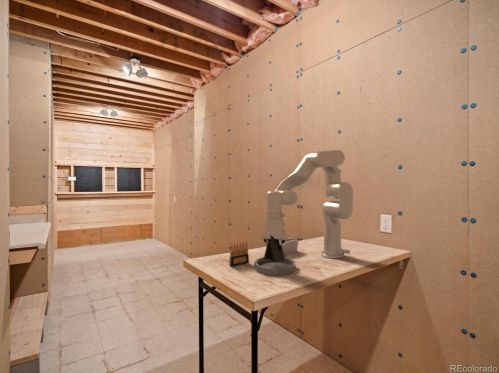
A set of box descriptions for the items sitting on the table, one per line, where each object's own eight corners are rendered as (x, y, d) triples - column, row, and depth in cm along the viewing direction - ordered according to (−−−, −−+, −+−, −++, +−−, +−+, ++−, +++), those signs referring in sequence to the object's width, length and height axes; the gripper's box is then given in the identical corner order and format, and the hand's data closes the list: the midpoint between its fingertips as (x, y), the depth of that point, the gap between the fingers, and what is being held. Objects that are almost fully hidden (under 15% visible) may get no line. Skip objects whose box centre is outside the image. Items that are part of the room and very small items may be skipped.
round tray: (296, 262, 135) (295, 257, 135) (293, 276, 115) (293, 270, 115) (258, 260, 139) (258, 255, 139) (250, 273, 120) (250, 267, 120)
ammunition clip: (230, 266, 130) (230, 243, 130) (229, 265, 132) (228, 242, 131) (249, 263, 135) (248, 240, 135) (247, 262, 137) (247, 240, 137)
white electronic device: (291, 249, 161) (294, 235, 159) (296, 253, 158) (300, 239, 155) (271, 254, 151) (275, 239, 148) (276, 258, 148) (280, 243, 145)
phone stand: (285, 259, 125) (284, 235, 125) (276, 262, 121) (275, 237, 121) (272, 255, 132) (272, 232, 132) (263, 258, 129) (263, 234, 128)
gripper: (291, 215, 128) (292, 251, 129) (259, 214, 132) (259, 249, 133) (290, 217, 121) (291, 255, 121) (256, 216, 125) (256, 253, 125)
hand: (274, 251), depth 127 cm, fingers closed on phone stand, 4 cm apart
